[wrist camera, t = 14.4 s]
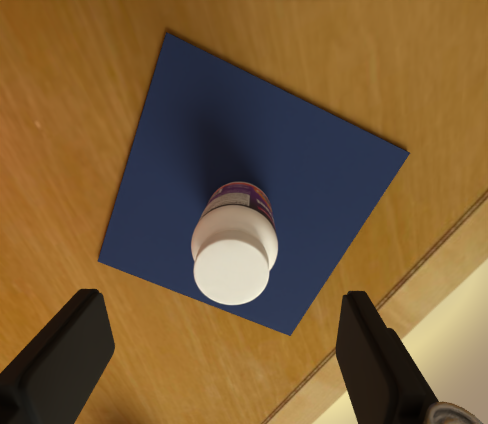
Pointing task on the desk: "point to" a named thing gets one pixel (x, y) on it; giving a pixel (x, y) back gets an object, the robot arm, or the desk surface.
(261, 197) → the pill bottle
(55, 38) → the desk surface
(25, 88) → the desk surface
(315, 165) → the mat
